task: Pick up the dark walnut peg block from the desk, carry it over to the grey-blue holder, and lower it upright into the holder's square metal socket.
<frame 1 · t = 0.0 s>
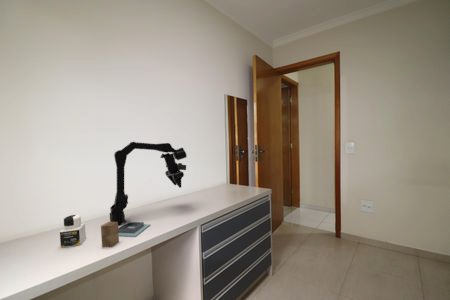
hand: (178, 186, 129), 15 cm above the table, tool pointing down, fingers open, 9 cm apart
medicine bottle: (74, 243, 91), on the table
socket holder: (131, 230, 102), on the table
walnut peg: (110, 244, 88), on the table
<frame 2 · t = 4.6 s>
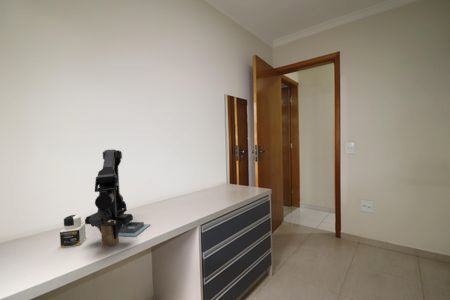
hand: (110, 238, 88), 3 cm above the table, tool pointing down, fingers closed on walnut peg, 4 cm apart
walnut peg: (110, 244, 88), on the table, touching gripper
everything else where it was.
when the fingers open (4 cm above the table, at t = 10.6 s): walnut peg drops 1 cm, resting on socket holder.
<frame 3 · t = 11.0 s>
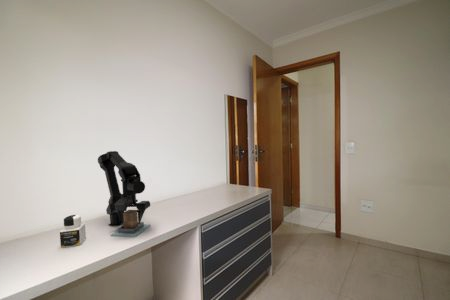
hand: (130, 222, 102), 4 cm above the table, tool pointing down, fingers open, 9 cm apart
walnut peg: (131, 229, 102), point 1 cm above the table, touching socket holder
everything else where it was.
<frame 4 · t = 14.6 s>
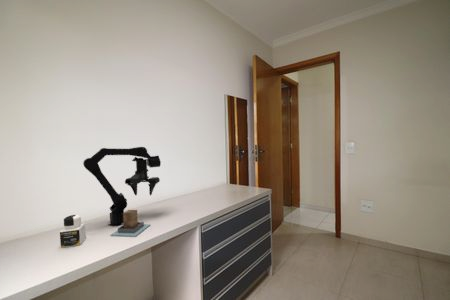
hand: (143, 195, 120), 13 cm above the table, tool pointing down, fingers open, 9 cm apart
nothing on the table moved.
at the end: walnut peg 0.0 cm off-centre on the socket holder, point 0.6 cm above the socket holder's base; walnut peg tilted 0°; the gripper is holding nothing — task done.
